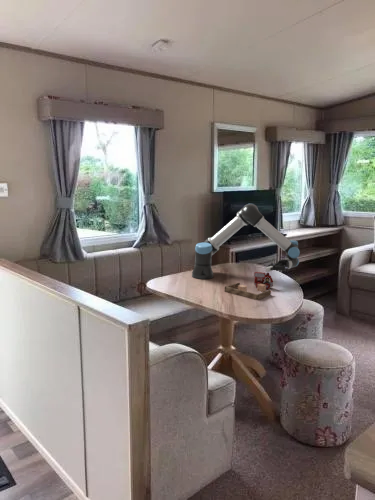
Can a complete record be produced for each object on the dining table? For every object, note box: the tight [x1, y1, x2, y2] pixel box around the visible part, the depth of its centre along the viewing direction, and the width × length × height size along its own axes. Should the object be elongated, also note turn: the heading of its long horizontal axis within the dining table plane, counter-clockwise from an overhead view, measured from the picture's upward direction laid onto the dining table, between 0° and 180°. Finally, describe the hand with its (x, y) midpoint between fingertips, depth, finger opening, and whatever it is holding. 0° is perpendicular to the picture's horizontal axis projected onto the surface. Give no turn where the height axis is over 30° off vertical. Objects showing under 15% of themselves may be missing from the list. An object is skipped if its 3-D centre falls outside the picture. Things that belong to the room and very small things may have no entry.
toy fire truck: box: [253, 271, 274, 291], centre depth 268 cm, size 7×12×10 cm, turn 80°
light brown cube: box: [237, 284, 248, 292], centre depth 257 cm, size 4×4×4 cm
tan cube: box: [256, 284, 267, 293], centre depth 262 cm, size 4×4×4 cm
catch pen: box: [224, 282, 272, 301], centre depth 255 cm, size 24×15×3 cm, turn 49°
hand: (266, 269), depth 269 cm, fingers closed
